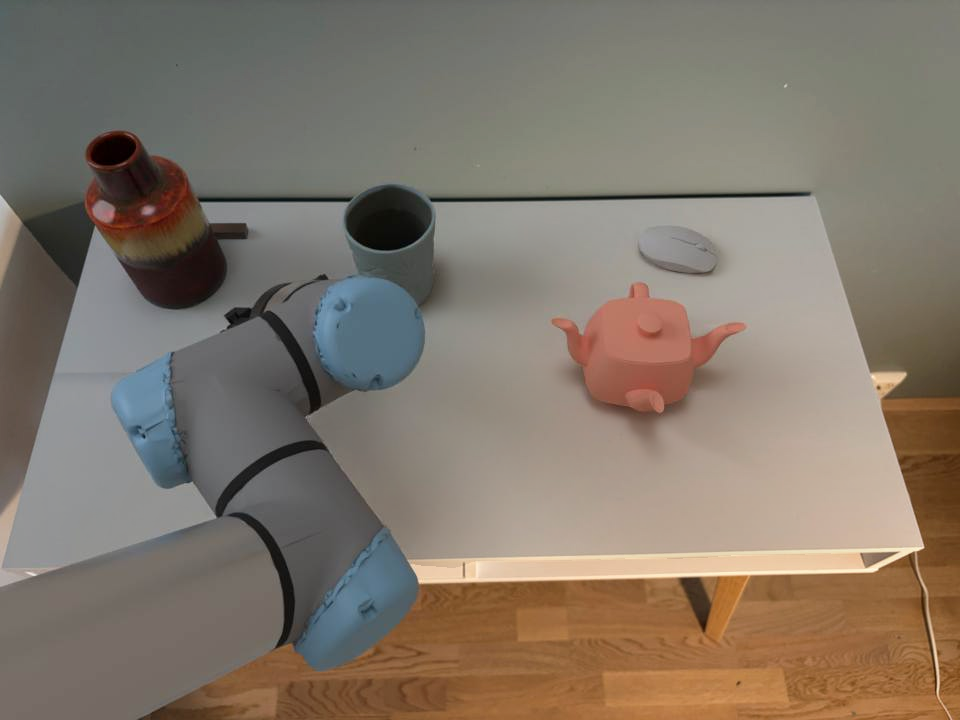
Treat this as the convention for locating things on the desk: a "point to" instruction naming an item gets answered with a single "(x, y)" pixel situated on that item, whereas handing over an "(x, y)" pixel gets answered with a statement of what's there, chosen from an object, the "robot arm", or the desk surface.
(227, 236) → the strip
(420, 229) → the grey-blue ceramic planter
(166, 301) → the vase
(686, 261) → the computer mouse
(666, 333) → the teapot
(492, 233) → the desk surface
